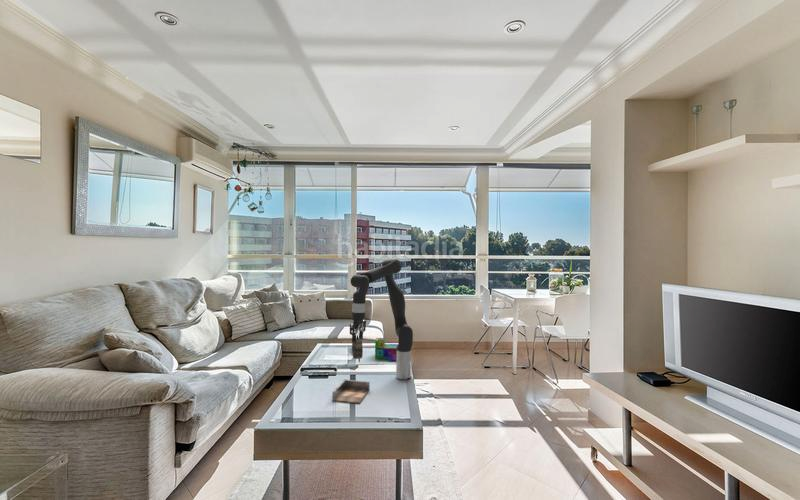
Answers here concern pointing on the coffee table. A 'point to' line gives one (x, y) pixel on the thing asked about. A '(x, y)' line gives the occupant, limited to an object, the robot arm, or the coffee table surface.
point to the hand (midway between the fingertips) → (357, 340)
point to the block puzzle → (385, 350)
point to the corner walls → (350, 386)
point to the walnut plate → (351, 395)
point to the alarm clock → (357, 349)
